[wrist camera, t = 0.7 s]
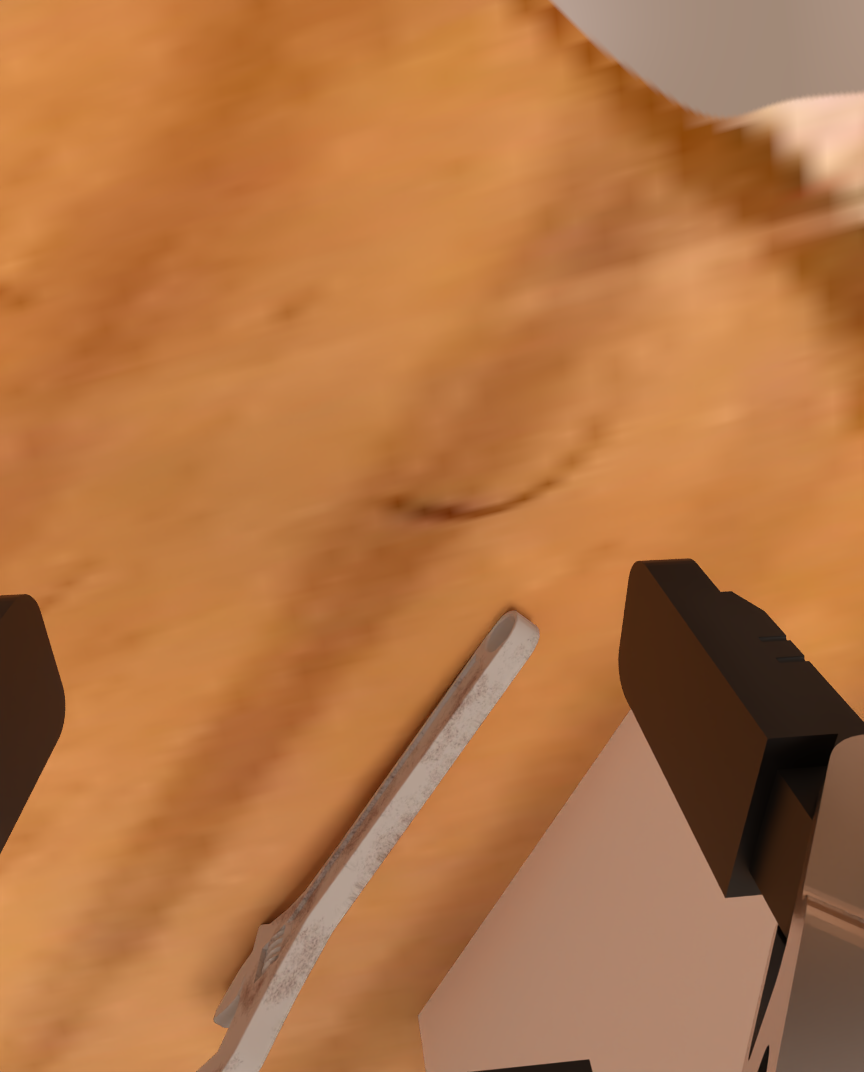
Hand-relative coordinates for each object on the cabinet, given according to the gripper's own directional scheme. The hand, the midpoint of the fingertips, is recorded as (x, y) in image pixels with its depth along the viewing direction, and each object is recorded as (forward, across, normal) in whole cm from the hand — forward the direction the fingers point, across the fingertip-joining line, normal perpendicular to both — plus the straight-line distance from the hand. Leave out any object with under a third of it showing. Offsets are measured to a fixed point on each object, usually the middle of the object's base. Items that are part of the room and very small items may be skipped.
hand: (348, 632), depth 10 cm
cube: (+21, +18, -39) cm, 48 cm away
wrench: (+23, -1, -28) cm, 37 cm away
